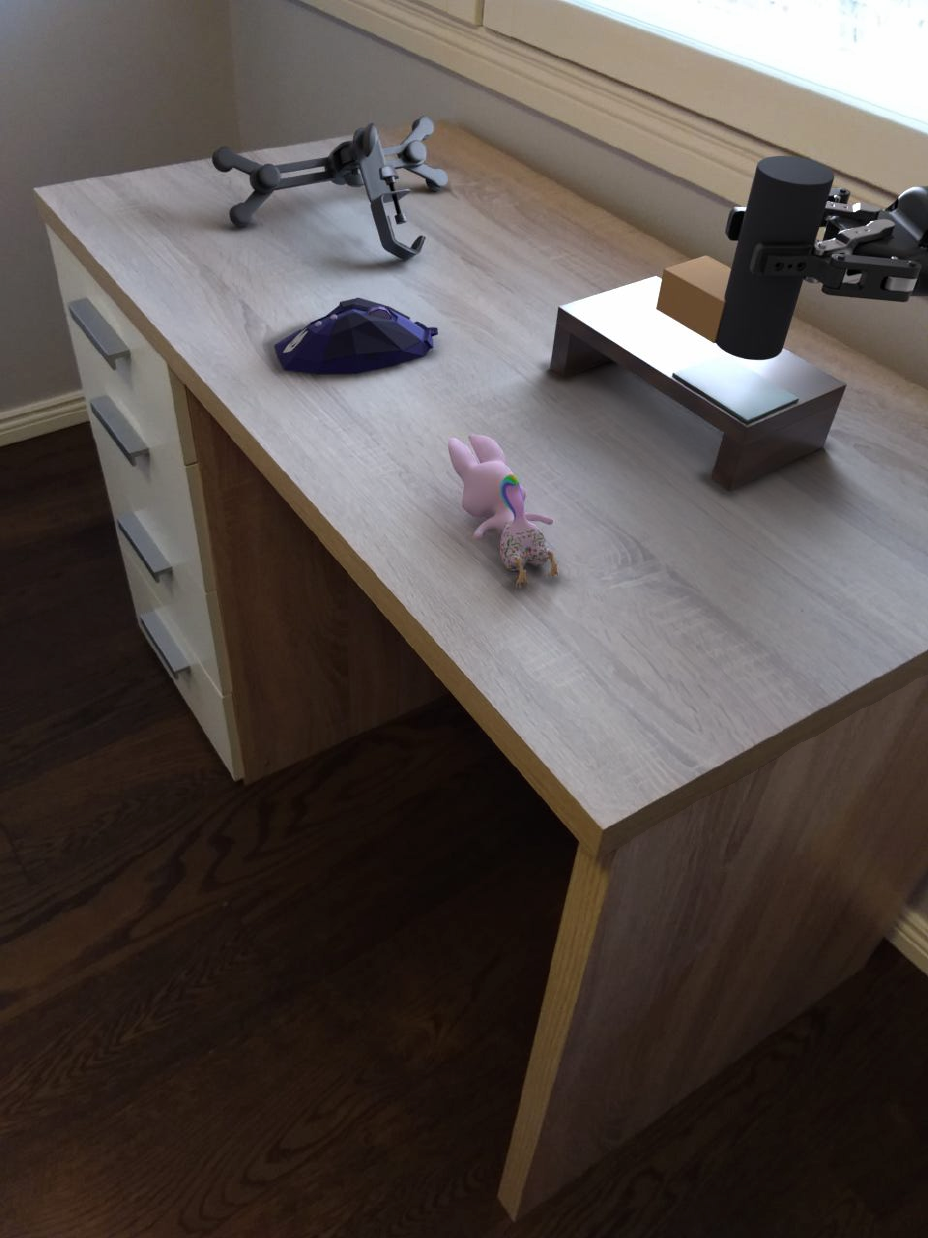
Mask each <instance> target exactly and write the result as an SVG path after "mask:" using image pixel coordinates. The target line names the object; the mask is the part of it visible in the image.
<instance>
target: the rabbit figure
mask: <svg viewBox="0 0 928 1238" xmlns="http://www.w3.org/2000/svg"><path fill="white" fill-rule="evenodd" d="M467 438H468V440H469V442H470V445H471V447H472V449H473V452H474V454H475V455H474V454H473V452H472V451H471V450H470V448H469V447H468V446H467V445H466V444H465V443H463V442H462V441H461V440H459V439H457V438H456V437H451V438H450V439H449V440H448V444H447V450H448V455H449V459H450V463H451V466H452V467H453V470H454V471H455V473H456V475H458V476H459V478H460V479H461V481H462V483H463V487H462V488H463V489H462V490H463V491H462V496H461V497H462V498H461V508H462V509H463V511H464V512H465V513H467V514H468V515H469V516H471V517H472V518H477V519H485V521H484V522H483V523H481V524H480V525H479V526H478V527H477V528H476V530H475V531H474V533H473V535H472V537H473V539H474V540H475V541H478V540H480V539H482V536H483V534H484V533H485V532H487V531H489V530H495V532H497V533H498V534H499V535H500V536H501V537H500V542H499V554H500V559H501V562H502V565H503V566H504V567H505V568H506V569H507V570H509V571H512V572H518V571H519V577H518V579H516V582H515V586H516V587H518V586H519V588H521V587H522V584H523V583H527V584H529V583H530V582H529V581H528V580H527V578H526V576H527V575H526V572H527V571H526V570H525V569H523V568H524V567H525V565H526V563H529V564H531V565H532V566H537V567H539V566H542V565H544V564H545V563H546V562H547V561H550V564H551V567H550V568H551V569H550V572H549V573H548V574H547V575H546V579H549V577H551V580H552V581H554V576H557V577H558V578H560V576H559V571H558V562H556V561H555V559H554V552H553V550H551V548H550V545H549V543H548V541H547V539H546V536H545V533H544V532H543V531H542V529H541V528H540V527H539V526H538V525H536V524H535V523H533V522H541V523H543V524H544V525H548V526H550V525H552V524H553V523H554V519H553V518H552V517H550V516H548V515H544V514H541V513H536V512H529V511H525V509H524V508H525V503H524V502H525V500H526V498H527V490H526V488H525V487H524V486H523V485H522V484H521V483H520V481H519V479H518V476H517V475H515V474H514V473H513V471H512V470H511V469H510V468H509V466H507V465H506V462H507V461H506V460H507V459H506V456H505V453H504V451H503V449H502V448H501V447H500V445H499V444H498V443H497V442H496V441H495V440H494V439H493V438H491V437H488V436H486V435H481V434H469V435H468V437H467ZM475 456H476V457H475ZM477 459H478V460H477Z"/></svg>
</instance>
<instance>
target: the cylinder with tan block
mask: <svg viewBox="0 0 928 1238" xmlns="http://www.w3.org/2000/svg"><path fill="white" fill-rule="evenodd" d="M834 180H835V173H834V171H833V170H832V169H831V168H830V167H828V166H826V165H825V164H823V163H820V162H818V161H815V160H812V159H809V158H804V157H799V156H793V155H792V156H791V155H773V156H768V157H763V158H762V159H760V160H759V161H758V162H757V164H756V166H755V171H754V176H753V178H752V183H751V187H750V191H749V194H748V199H747V203H746V206H745V207H746V211H745V215H744V219H743V223H742V227H741V231H740V235H739V239H738V241H737V244H736V247H735V252H734V256H733V259H732V263H731V267H729V266H727V265H726V264H724V263H722V262H720V261H718V260H716V259H714V258H713V257H711V256H708V255H703V256H699V257H696V258H693V259H690V260H687V261H684V262H680V263H678V264H675V265H672V266H668V267H665V268H663V272H662V276H661V279H662V281H661V286H660V291H659V296H658V301H657V306H656V310H658V311H660V312H661V313H663V314H665V315H667V316H668V317H670V318H672V319H673V320H675V321H677V322H678V323H680V324H682V325H683V326H685V327H687V328H689V329H690V330H692V331H694V332H695V333H697V334H699V335H700V336H702V337H704V338H706V339H707V340H709V341H711V342H712V343H716V344H717V346H718V347H719V348H721V349H722V350H723V351H725V352H727V353H728V354H731V355H733V356H736V357H739V358H743V359H748V360H767V359H772V358H774V357H776V356H778V355H779V354H780V353H781V352H782V349H783V348H784V346H785V343H786V339H787V336H788V332H789V329H790V326H791V323H792V320H793V316H794V312H795V310H796V306H797V303H798V299H799V296H800V293H801V290H802V286H803V283H804V281H805V280H804V276H802V277H755V276H754V275H753V273H752V272H751V270H750V264H751V260H752V257H753V253H754V249H755V247H756V245H757V244H759V243H761V242H808V243H809V244H810V246H811V249H812V248H813V245H814V243H815V240H816V238H817V237H818V233H819V231H818V230H820V228H821V227H820V224H821V220H822V217H823V214H824V210H825V207H826V204H827V200H828V197H829V194H830V191H831V189H832V187H833V185H834Z"/></svg>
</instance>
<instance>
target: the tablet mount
mask: <svg viewBox="0 0 928 1238" xmlns="http://www.w3.org/2000/svg"><path fill="white" fill-rule="evenodd" d="M434 131H435V124H434V121H433V120H432V119H431V118H430V117H429V116H427V115H422V116H420V117H419V118H417V119H415V120H414V121H413V122H412V124H411V132H409V134H408V135H407V137H405V138H404V140H403V141H402V142H401V143H400V144H398V145H392V146H386V147H382V145H381V141H380V138H379V136H378V129H377V127H376V124H375V123H374V122H370V123H368V124H367V125H366V126H363V127H359V128H358V129H356V130H355V132H354V133H353V136H352V139H351V140H346V141H343V142H341V143H340V144H338V145H337V146H336V147H334V149H333V150H331V152H330V153H329V155H328V156H325V157H320V158H319V157H318V158H313V159H306V160H301V161H294V162H287V163H282V164H272V163H265V164H260V163H258V162H256V161H253V160H251V159H249V158H247V157H244V156H242V155H240V154H238V153H236V152H234V150H233V149H232V148H231V147H229V146H226V145H223V146H220V147H219V148H218V149H215V151H214V152H213V153H212V155H211V162H212V166H213V167H214V168H215V169H216V170H217V171H218V172H220V173H226V174H227V173H229V172H231V171H232V170H233V169H235V170H237V171H239V172H241V173H242V174H243V173H244V174H245V175H247V176H249V184H250V186H251V188H252V190H253V191H252V193H251V194H250V195H249V196H248V198H247V199H246V200H245V201H244V202H240V203H237V204H235V205H232V206H231V208H230V209H229V213H228V215H229V216H228V218H229V220H230V222H231V223H232V224H233V225H234V226H235V227H237V228H241V229H242V228H246V227H248V226H249V225H250V224H251V222H252V221H253V218H254V214H255V213H256V212H257V211H258V210H259V209H260V207H261V206H262V205H263V204H264V203H265V202H266V201H267V199H268V198H270V196H271V195H272V194H273V193H274V192H275V191H281V190H287V189H291V188H297V187H302V186H310V185H314V184H319V183H327V182H332V184H335V185H337V186H344V185H347V186H348V187H350V188H361V187H364V188H365V192H366V195H367V199H368V201H369V203H370V210H371V214H372V217H373V221H374V224H375V227H376V230H377V234H378V237H379V241H380V245H381V247H382V248H383V249H384V251H386V252H387V253H389V254H391V255H393V256H394V257H396V258H398V259H400V260H402V261H408V260H410V259H412V258H413V257H414V256H415V257H416V256H417V255H419V254H420V253H421V252H422V250H423V247H424V246H425V243H426V240H427V237H426V236H424V235H422V234H420V235H419V236H418V237H417V238H416V239H415V240H414V241H413V243H412V244H411V246H408V245H407V244H404V243H403V242H400V241H398V240H397V238H396V236H395V231H394V229H393V226H392V222H391V217H390V215H388V214H387V212H386V207H385V204H387V203H393V205H394V209H395V213H396V214H395V215H394V220H395V224H396V225H399V226H400V225H402V224H406V223H407V222H408V219H407V216H406V213H405V212H402V208H401V205H400V200H401V199H403V198H404V197H406V196H408V195H409V194H410V193H411V189H410V188H403V189H398V190H396V187H395V184H396V183H397V182H396V181H397V180H399V179H400V176H399V175H398V172H397V170H400V169H404V170H406V171H408V172H410V173H412V174H414V175H416V176H419V177H421V178H423V179H425V183H426V186H427V187H428V189H430V190H431V191H434V192H440V191H441V190H442V189H443V188H444V187H445V186H446V185H447V184H448V181H449V177H448V173H447V171H445V170H444V169H443V168H441V167H436V168H435V167H432V166H430V165H428V164H426V163H425V162H426V161H427V146H426V145H425V143H423V141H426V140H428V139H429V137H430V136H431V135H432V134H433V133H434ZM395 155H396V156H397V158H394V159H388V160H386V159H385V157H389V156H395ZM317 168H323V169H324V170H323V171H317V172H312V173H306V174H299V175H295V176H288V177H283V178H282V174H287V173H293V172H300V171H305V170H311V169H312V170H313V169H317Z"/></svg>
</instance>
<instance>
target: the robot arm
mask: <svg viewBox="0 0 928 1238" xmlns="http://www.w3.org/2000/svg"><path fill="white" fill-rule="evenodd" d="M851 193H852V191H851V190H849V189H847V188H845V187H834V188H831V191H830V194H829V197H828V200H827V204H826V207H825V210H824V214H823V217H822V220H821V224H820V227H819V228H824V232H823V235H822V240H819V239H818V238H817V237H816V240H815V243H814V245H813V248H812V249H811V246H810V244H809V243H808V242H761V243H759V244H757V245H756V247H755V249H754V253H753V257H752V260H751V264H750V270H751V272H752V273H753V275H754V276H755V277H802V276H804V280H803V281H805V282H807V283H809V284H820V283H821V284H822V286H821V291H820V292H822V294H824V295H827V296H831V297H832V296H834V297H843V298H844V297H845V298H853V299H866V300H876V301H885V302H898V303H907V302H908V301H909V300H910V298H911V297H928V185H917V186H911V187H910V188H908V189H907V190H905V191H904V192H902V193H901V194H900V195H899V196H898V197H897V198H896V199H895V200H894V201H893V203H891V204H890V205H889V206H888V207H886V208H881V207H880V206H879V205H875V204H871V203H863V202H858V203H856V204H850V203H849V200H850V196H851ZM746 207H747V206H735V207H733V208H732V209H730V210H729V213H728V217H727V221H726V224H725V229H724V234H725V236H726V237H727V238H728V240H729V241H733V242H738V239H739V235H740V231H741V227H742V223H743V219H744V215H745V211H746ZM819 230H820V229H819ZM819 230H818V232H819ZM856 281H857V282H856ZM852 282H853V283H852Z"/></svg>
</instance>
